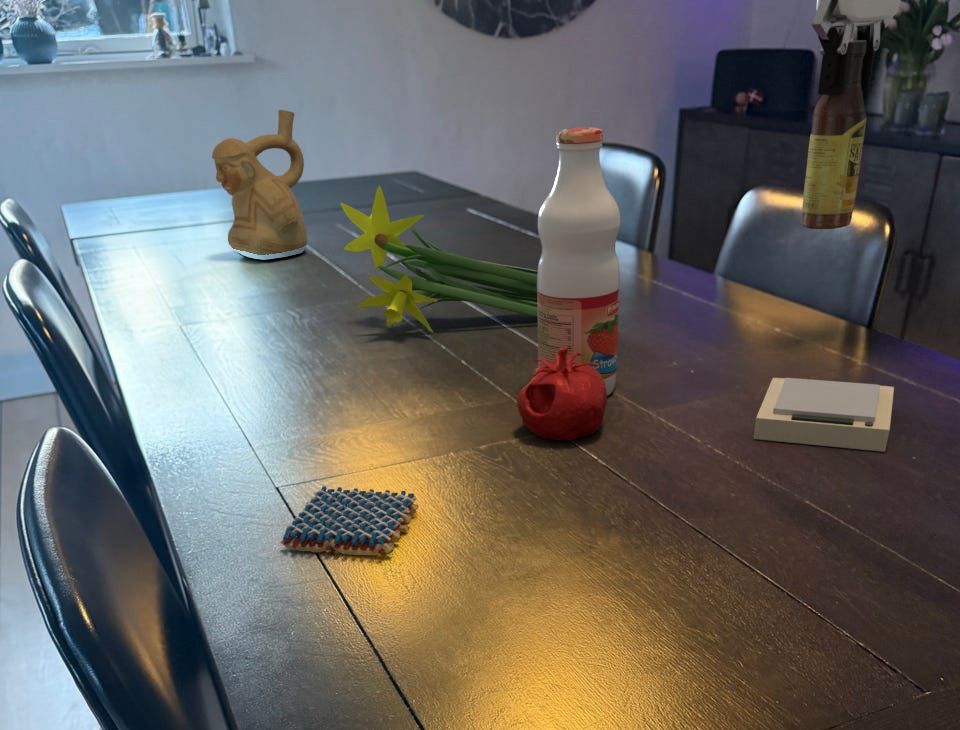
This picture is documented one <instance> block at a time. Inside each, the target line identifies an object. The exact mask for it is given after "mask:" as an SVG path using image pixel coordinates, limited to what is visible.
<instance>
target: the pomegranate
mask: <svg viewBox="0 0 960 730" xmlns="http://www.w3.org/2000/svg"><path fill="white" fill-rule="evenodd" d="M558 352H559V355H558V354H555V355H553V356H555V357H556V362H552V361H551V362H548V361H546V360H544V359H538V358H537V359H533V360H530V362H538V361H540V362H542V363H544V364H540V365H539V366H538V365H537V366H536V368H535V371H534V372H533V373H532V374H531V379H530V380H529V382H528V383H527V384H526V385H525V386H523V388H521V389H520V391H518V393H517V396H516V406H517V409H518V413H519V415H520V417H521V420H522V423H523V424H524V426H525V427H526V428H527V429H528V430H529V431H531V433H533V434H534V435H536V436H538V437H539V438H542V439H548V440H554V441H573V440H576V439H579V438H582V437H583V438H584V437H586V436H590V435H593V434H594V433H595V432H596V431H598V430H599V428H600V427H601V426H602V425H603V421H604V417H605V411H606V404H607V399H608V396H607V391H606V386H605V383H604V381H603V379H602V377H601V375H600V373H599V372H598V371H597V370H596V369H594V368H593V367H591V366H588V364H589V365H596V366H598V365H600V364H595V363H591V362H588V363H582V364H577V363H574V362H573V360H574V359H575V357H576V356H584V355H581V354H579V353H577V352H576V353H574V354H573V355H571V356H570V357H569V358H568V359H566V354H567V352H568V348H567V347H565V346H563V347H561V348H559V351H558Z"/></svg>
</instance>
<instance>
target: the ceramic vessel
mask: <svg viewBox="0 0 960 730" xmlns="http://www.w3.org/2000/svg"><path fill="white" fill-rule="evenodd" d="M277 115H278V116H277V121H278V122H277V133H275V134H263V135H259V136H257V137H254V138H252V139H250V140H248V141H246V142H244V141H243V140H242V139H238V138H234V137H229V138H225V139H222V140H220V141H219V142H218V143H217V144H216V145H215V146H214V148H213V150H212V153H211V159H213V160H214V164H215V165H214V166H215V169H216V174H215V179H216V181H217V182H218V183H221V187H222V188H223V189H224V191H226V192H227V194H228V195H230V196H231V207H232V212H233V223H232V225H231V227H230V228H229V229H228V233H227V243H228V245H229V246H230V247H231V249H232V248H233V249H236V250H240V251H246V252H249V253H253V254H257V255H266V254H267V255H269V254H276V253H282V252H287V251H292V250H295V249H299V248H302V247H304V246H306V245H307V244H308V233H307V232H308V231H307V226H306V221H305V217H304V214H303V211H302V208H301V206H300V203H299V201H298V199H297V197H296V196H295V194H294V192H293V191H292V188H293V187H294V186H296V185H297V184H298V182H299V181H300V179H301V178H302V176H303V173H304V169H305V159H304V155H303V151H302V149H301V147H300V146H299V144H298V143H297V142H296V140H295V139H293V128H294V127H293V126H294V119H295V112H293V111H291V110H286V109H278V110H277ZM272 149H280V150H283V151H285V152H287V154H288V155H289V160H290V164H289V167H288V169H287V171H285V173H283V174H280V175H275V174H274V173H273V172H271V171H270V170H269V169H268V168H266V167H265V166H264V165H263V164H262V163H261V162H260V161H259V159H258V156H259V155H260V154H261V153H263V152H265V151H266V150H272ZM306 247H307V246H306ZM233 249H232V250H233Z"/></svg>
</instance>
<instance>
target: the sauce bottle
mask: <svg viewBox="0 0 960 730" xmlns="http://www.w3.org/2000/svg"><path fill="white" fill-rule="evenodd" d="M866 45H867V41H866V40H854V41H853V40H849V43H848V47H847V51H846V53H845V54H850V56H849V63H848V70H847V77H846V84H845V91H844V93H843V94H842V95H821V97H820V98H818V101H817V104H815V107H814V110H813V115H812V125H811V132H810V134H809V135H810V136H809V144H808V152H807V163H806V170H805V179H804V187H803V188H804V189H803V198H802V206H801V212H802V216H801V225H802V226H803V227H805V228H807V229H811V230H834V229H840V228H841V229H842V228H845V227H847V226H849V225H850V224H851V222H852V219H853V212H854V211H855V204H856V197H857V191H858V184H859V176H860V169H861V161H862V155H863V149H864V148H863V147H864V141H865V134H866V133H865V132H866V127H867V126H866V125H867V118H868V116H867V112H866V105H865V101H864V96H863V91H862V89H861V72H862V66H863V57H864V55H865V53H866Z"/></svg>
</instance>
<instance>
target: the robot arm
mask: <svg viewBox="0 0 960 730" xmlns="http://www.w3.org/2000/svg"><path fill="white" fill-rule="evenodd" d="M900 5H901V0H816V11H815V14H814V16H813V18H812V21H811V27H812V28H813V30H814V31H815V33H816V35H817V38H818V41H819V43H820V47H819V53H820V55H821V56H822V58H821V67H820V72H819V81H818V89H817V93H818V95H820V96H822V95H842V94H843V93H844V91H845V84H846V77H847V70H848V63H849V56H850V54H845V53H846V51H847V47H848V43H849V41H850V39H851V34H852V41H854V40H866V41H867V45H866V53H865V55H864V57H863V66H862V72H861V89H862V92H866V91H869V90H870V88H871V83H872V77H873V70H874V64H875V56H876V51H877V50H879V47H880V44H881V37H882V36H883V34H884V33H885V31H886V28H887V27H888V26H889V24H890V23H891V22H892V20H893V19H894V16H895V15H896V14H897V13H898V12H899V9H900ZM864 27H865V28H864ZM838 30H840V34H839V31H838Z"/></svg>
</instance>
